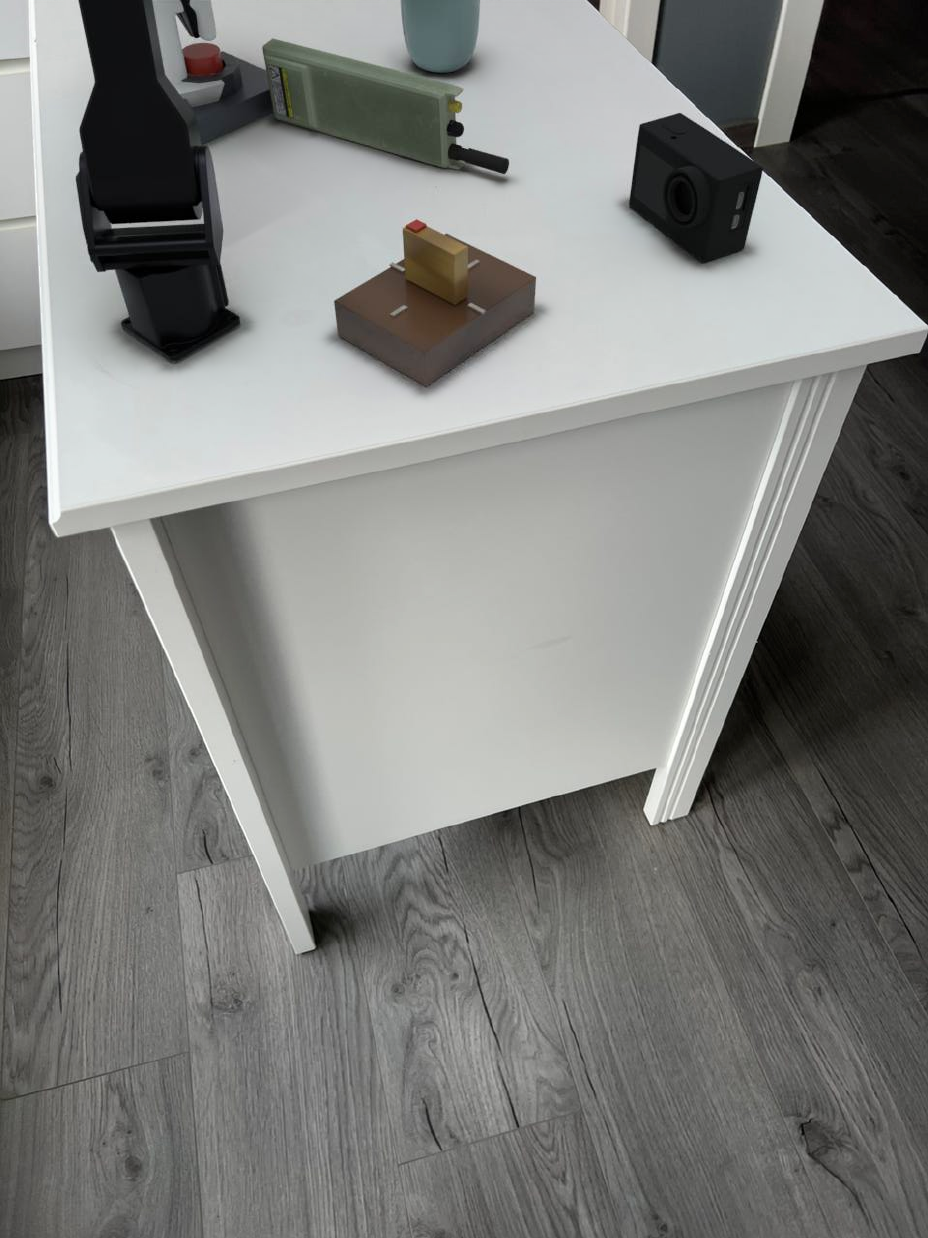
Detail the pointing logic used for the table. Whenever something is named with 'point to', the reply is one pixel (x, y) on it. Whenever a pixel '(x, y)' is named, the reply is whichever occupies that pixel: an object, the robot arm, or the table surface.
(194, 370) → the table surface
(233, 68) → the box
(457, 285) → the gold box
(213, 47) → the release button
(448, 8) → the cup
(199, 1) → the white bracket
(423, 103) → the handheld radio
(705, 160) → the digital camera
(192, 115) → the robot arm
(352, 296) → the plate
